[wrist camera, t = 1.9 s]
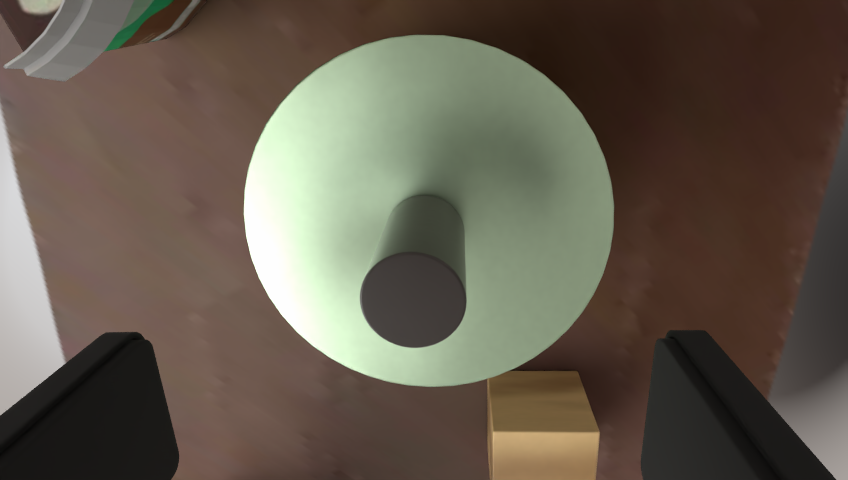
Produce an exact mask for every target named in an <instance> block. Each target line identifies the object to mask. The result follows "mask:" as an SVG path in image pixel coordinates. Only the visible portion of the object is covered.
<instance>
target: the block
mask: <svg viewBox="0 0 848 480" xmlns="http://www.w3.org/2000/svg"><path fill="white" fill-rule="evenodd" d="M599 437H600V432H599V429H598V426H597V423H596V421H595V418H594V415H593V412H592V410H591V407H590V404H589V401H588V399H587V396H586V393H585V390H584V387H583V385H582V382H581V379H580V376H579V374H578V371H507V372H505V373H502V374H500V375H497V376H495V377H491V378H488V379H487V443H488V457H489V471H490V480H596V470H597V459H598V448H599Z"/></svg>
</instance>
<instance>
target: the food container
mask: <svg viewBox="0 0 848 480" xmlns="http://www.w3.org/2000/svg"><path fill="white" fill-rule="evenodd" d="M206 1H207V0H0V14H1V16H2V17H3V19H4V20H5V22H6V24H7V25H8V27H9V29H10V30H11V32H12V34H13V35H14V37H15V39H16V40H17V42H18V44H19V45H20V47H21V49H22V50H23V53H22V54H20V55H19V56H17V57H16V58H14V59H13V60H11V61H10V62H8V63H7V64H5V65H4V67H5V69H24V71H25V73H26V74H27V76H32V77H39V78H45V79H51V80H58V81H64V82H65V81H66V80H68V79H70V78H71V77H73V76H74V75H76V74H77V73H79V72H81V71H82V70H84V69H85V68H86V67H87V66H89V65H90V64H91V63H92V62H93V61H94V60H95V59H96V58H97V57H98V56H99V55H100V54H101V53H102V52H104V51H109V50H114V49H119V48H123V47H128V46H133V45H138V44H143V43H148V42H153V41H158V40H163V39H167V38H168V37H170V36H172V35H173V34H175V33H176V32H178V31H179V30H181V29H183V28H184V27H186V26H187V25H188V23H189V22H190V21H191V20H192V18H193V17H194V16H195V15H196V13H197V12H198V11H199V10H200V9H201V7H202V6H203V5H204V4H205V2H206Z"/></svg>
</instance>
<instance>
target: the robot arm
mask: <svg viewBox="0 0 848 480" xmlns="http://www.w3.org/2000/svg"><path fill="white" fill-rule="evenodd" d="M178 463H179V451H178V447H177V443H176V439H175V435H174V431H173V427H172V423H171V419H170V415H169V411H168V406H167V402H166V398H165V394H164V390H163V386H162V382H161V378H160V374H159V370H158V366H157V362H156V358H155V354H154V350H153V346H152V344H151V343H150V341H148V340H145V339H144V337H143V336H142V335H141V334H140V333H138V332H109V333H104V334H103V335H101V336H100V337H98V338H97V339H96V340H95V341H93V342H92V343H91V344H90V345H88V346H87V347H86V348H85V349H83V350H82V351H81V352H80V353H78V354H77V355H76V356H75V357H73V358H72V359H71V360H69V361H68V362H67V363H66V364H64V365H63V366H62V367H61V368H59V369H58V370H57V371H56V372H54V373H53V374H52V375H51V376H49V377H48V378H47V379H46V380H44V381H43V382H42V383H41V384H39V385H38V386H37V387H36V388H34V389H33V390H32V391H31V392H29V393H28V394H27V395H26V396H25V397H23V398H22V399H21V400H19V401H18V402H17V403H16V404H14V405H13V406H12V407H11V408H9V409H8V410H7V411H6V412H4V413H3V414H2V415H0V480H171V479H172V477H173V476H174V474H175V472H176V470H177V467H178ZM641 471H642V476H643V480H836V479H835V478H834V477H833V475H832V474H831V473H830V472H829V471H828V470H827V469H826V467H825V466H824V465H823V464H822V463H821V462H820V461H819V459H818V458H817V457H816V456H815V455H814V454H813V453H812V451H811V450H810V449H809V448H808V447H807V446H806V445H805V443H804V442H803V441H802V440H801V439H800V438H799V437H798V435H797V434H796V433H795V432H794V431H793V430H792V429H791V427H789V425H788V424H787V423H786V422H785V421H784V419H783V418H782V417H781V416H780V415H779V414H778V413H777V412H776V410H775V409H774V408H773V407H772V406H771V405H770V403H769V402H768V401H767V400H766V399H765V398H764V397H763V395H762V394H761V393H760V392H759V391H758V390H757V389H756V387H755V386H754V385H753V384H752V383H751V382H750V381H749V379H748V378H747V377H746V376H745V375H744V374H743V373H742V371H741V370H740V369H739V368H738V367H737V366H736V365H735V363H734V362H733V361H732V360H731V359H730V358H729V357H728V355H727V354H726V353H725V352H724V351H723V350H722V349H721V347H720V346H719V345H718V344H717V343H716V342H715V341H714V339H713V338H712V337H711V336H710V335H709V334H708V333H707V332H706V331H703V330H670V331H669V332H668V333H667V335H666V337H665V339H658V340H657V341H656V344H655V350H654V358H653V366H652V374H651V382H650V390H649V398H648V406H647V414H646V422H645V430H644V438H643V446H642V454H641Z"/></svg>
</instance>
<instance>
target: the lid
mask: <svg viewBox="0 0 848 480" xmlns="http://www.w3.org/2000/svg"><path fill="white" fill-rule="evenodd" d="M244 220H245V230H246V238H247V242H248V246H249V250H250V254H251V258H252V261H253V263H254V266H255V269H256V271H257V274H258V277H259V279H260V281H261V283H262V285H263V286H264V288H265V290H266V292H267V294H268V296H269V298H270V299H271V301H272V302H273V303H274V305H275V306H276V308H277V309H278V311H279V312H280V313H281V315H282V316H283V317H284V318H285V319H286V320H287V322H288V323H289V324H290V325H291V326H292V327H293V328H294V329H295V331H296V332H298V333H299V334H300V335H301V336H302V337H303V338H304V339H305V340H307V341H308V342H309V343H310V344H311V345H312V346H314V347H315V348H316V349H318V350H319V351H321V352H322V353H324V354H325V355H326V356H328V357H329V358H331V359H333V360H335V361H336V362H338V363H340V364H342V365H344V366H346V367H348V368H350V369H352V370H354V371H357V372H359V373H362V374H364V375H367V376H369V377H373V378H376V379H380V380H384V381H387V382H391V383H397V384H403V385H409V386H424V387H440V386H455V385H461V384H467V383H473V382H477V381H481V380H484V379H488V378H491V377H495V376H497V375H500V374H502V373H505V372H507V371H510V370H512V369H514V368H516V367H518V366H520V365H522V364H524V363H525V362H527V361H529V360H531V359H533V358H534V357H536V356H537V355H538V354H540V353H541V352H543V351H544V350H545V349H547V348H548V347H549V346H551V345H552V344H553V343H554V342H555V341H556V340H557V339H559V338H560V337H561V336H562V335H563V334H564V333H565V332H566V331H567V330H568V329H569V328H570V327H571V325H572V324H573V323H574V322H575V321H576V319H577V318H578V317H579V316H580V315H581V313H582V312H583V310H584V309H585V307H586V306H587V304H588V302H589V301H590V299H591V298H592V296H593V295H594V292H595V290H596V288H597V286H598V284H599V282H600V279H601V277H602V275H603V273H604V269H605V266H606V263H607V260H608V256H609V253H610V248H611V242H612V236H613V230H614V200H613V192H612V184H611V179H610V175H609V171H608V168H607V164H606V160H605V157H604V155H603V152H602V150H601V148H600V145H599V143H598V141H597V139H596V136H595V134H594V132H593V131H592V129H591V128H590V126H589V124H588V123H587V121H586V120H585V118H584V116H583V115H582V113H581V112H580V111H579V109H578V108H577V107H576V106H575V105H574V103H573V102H572V101H571V100H570V99H569V97H568V96H567V95H566V94H565V93H564V92H563V91H562V90H561V89H560V88H559V87H558V86H557V85H555V84H554V83H553V82H552V81H551V80H550V79H549V78H548V77H547V76H545V75H544V74H543V73H541V72H540V71H538V70H537V69H535V68H534V67H532V66H531V65H529V64H528V63H526V62H525V61H523V60H522V59H520V58H517V57H515V56H513V55H511V54H509V53H507V52H505V51H503V50H501V49H499V48H496V47H493V46H490V45H487V44H483V43H480V42H477V41H474V40H471V39H465V38H459V37H453V36H446V35H420V34H416V35H407V36H399V37H390V38H386V39H382V40H378V41H375V42H371V43H367V44H363V45H361V46H359V47H356V48H354V49H352V50H349V51H347V52H344V53H342V54H340V55H338V56H336V57H335V58H333V59H331V60H330V61H328V62H326V63H325V64H323V65H321V66H320V67H318V68H316V69H315V70H314V71H313V72H312V73H310V74H309V75H308V76H307V77H305V78H304V79H303V80H302V81H301V82H299V83H298V84H297V85H296V86H295V87H294V88H293V89H292V90H291V91H290V93H289V94H288V95H287V96H286V97H285V98H284V99H283V100H282V101H281V102H280V104H279V105H278V107H277V108H276V110H275V111H274V113H273V114H272V115H271V117H270V118H269V120H268V121H267V123H266V125H265V127H264V129H263V131H262V133H261V135H260V137H259V139H258V141H257V143H256V145H255V149H254V152H253V155H252V158H251V161H250V164H249V167H248V173H247V179H246V184H245V190H244Z"/></svg>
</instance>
